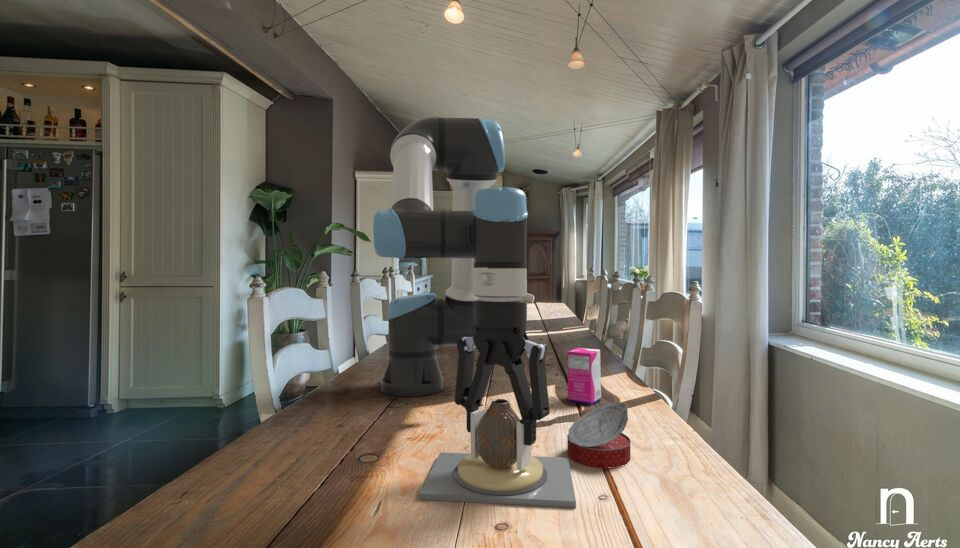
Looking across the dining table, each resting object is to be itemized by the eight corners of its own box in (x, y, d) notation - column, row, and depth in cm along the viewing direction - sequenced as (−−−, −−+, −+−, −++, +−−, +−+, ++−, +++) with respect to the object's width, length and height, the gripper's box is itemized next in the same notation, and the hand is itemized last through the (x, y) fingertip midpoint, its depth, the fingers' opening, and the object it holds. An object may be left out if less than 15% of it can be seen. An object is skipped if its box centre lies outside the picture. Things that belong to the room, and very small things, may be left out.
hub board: (440, 457, 77) (440, 444, 77) (568, 462, 75) (568, 450, 75) (419, 499, 63) (419, 484, 63) (575, 507, 61) (575, 491, 61)
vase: (506, 477, 64) (506, 411, 64) (466, 464, 69) (465, 402, 69) (534, 460, 70) (534, 399, 70) (495, 449, 74) (495, 392, 74)
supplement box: (577, 395, 114) (577, 346, 114) (601, 400, 110) (602, 349, 110) (566, 401, 109) (566, 350, 109) (591, 406, 106) (591, 353, 105)
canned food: (625, 497, 74) (631, 451, 69) (560, 479, 78) (560, 435, 73) (633, 440, 83) (638, 397, 78) (574, 427, 87) (575, 385, 82)
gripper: (428, 297, 71) (429, 454, 71) (553, 303, 60) (553, 488, 61) (458, 295, 77) (459, 439, 78) (576, 299, 67) (576, 467, 67)
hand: (500, 460), depth 69 cm, fingers closed on vase, 7 cm apart
